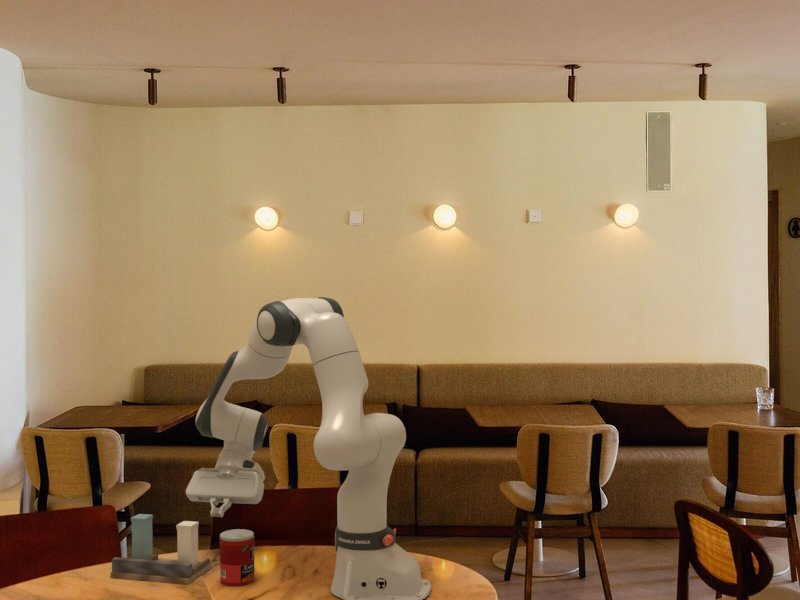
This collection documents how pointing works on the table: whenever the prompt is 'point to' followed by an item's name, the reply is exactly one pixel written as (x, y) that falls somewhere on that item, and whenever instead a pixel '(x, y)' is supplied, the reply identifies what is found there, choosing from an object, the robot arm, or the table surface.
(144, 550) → the light blue tall block
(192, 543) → the cream tall block
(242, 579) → the canned food
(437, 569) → the table surface
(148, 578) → the board
